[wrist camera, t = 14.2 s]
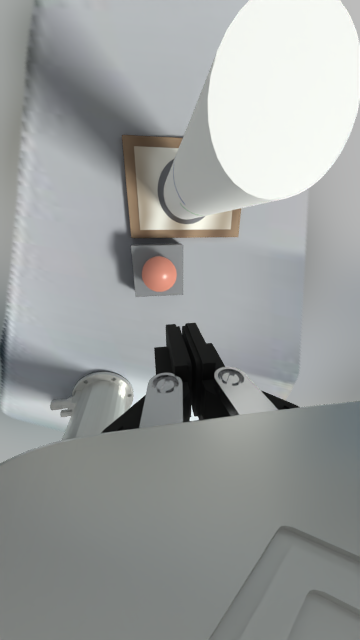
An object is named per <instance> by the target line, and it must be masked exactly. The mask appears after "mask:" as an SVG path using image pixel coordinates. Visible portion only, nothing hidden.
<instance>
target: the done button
mask: <svg viewBox="0 0 360 640" xmlns="http://www.w3.org/2000/svg"><path fill="white" fill-rule="evenodd" d="M176 277H177V272H176V268H175V266H174V265H173V263H172V262H171V261H170V260H169V259H167V258H165V257H162V256H155V257H152V258H150V259H149V260H147V261H146V263H145V264H144V266H143V269H142V279H143V281H144V283H145V285H146V286H147V287H148V288H149V289H151V290H153V291H156V292H163V291H166V290H168V289H170V288H171V287H172V286H173V285H174V283H175V281H176Z"/></svg>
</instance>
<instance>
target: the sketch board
mask: <svg viewBox="0 0 360 640" xmlns="http://www.w3.org/2000/svg"><path fill="white" fill-rule="evenodd" d="M182 139H183V138H172V137H153V136H135V135H122V142H123V153H124V164H125V175H126V186H127V196H128V207H129V218H130V229H131V238H187V237H238V234H239V224H240V214H241V208H240V209H235V210H231V211H226V212H221V213H217V214H212V215H208V216H203V217H198V218H194V219H187V220H186V219H181V218H178V217H176V216H175V215H173V214H172V213H171V212H170V210H169V209H168V208H167V206H166V203H165V200H164V185H165V181H166V179H167V176H168V174H169V172H170V169H171V167H172V164H173V161H174V159H175V156H176V154H177V151H178V149H179V146H180V144H181V141H182Z"/></svg>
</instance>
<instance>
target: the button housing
mask: <svg viewBox="0 0 360 640" xmlns="http://www.w3.org/2000/svg"><path fill="white" fill-rule="evenodd" d="M131 253H132V264H133V274H134V285H135V296H136V297H145V296H166V295H183V245H182V244H132V245H131ZM155 256H162V257H165V258H167V259H169V260H170V261H171V262H172V263H173V265H174V266H175V268H176V272H177V277H176V281H175V283H174V285H173V286H172V287H171V288H170V289H168V290H166V291H163V292H156V291H153V290H151V289H149V288H148V287H147V286H146V285H145V283H144V281H143V279H142V269H143V266H144V264H145V263H146V261H147V260H149V259H150V258H152V257H155Z"/></svg>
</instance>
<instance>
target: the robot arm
mask: <svg viewBox="0 0 360 640" xmlns="http://www.w3.org/2000/svg"><path fill="white" fill-rule="evenodd" d="M166 346H167V347H157V348H154V349H155V365H156V375H155V376H153V377H152V378H151V379H150V381H149V383H148V387H147V392H146V395H145V396H144V397H143V398H142V399H140V400H139V401H138V402H137V403H136V404H134V405H133V406H132V407H131V408H130V406H131V404H132V402H133V389H132V386H131V385H130V383H129V382H128V381H127V380H126V379H125V378H123V377H122V376H120V375H118V374H115V373H111V372H96V373H92V374H89V375H87V376H85V377H83V378H82V379H81V380H79V381H78V383H77V384H76V385H75V387H74V390H73V393H72V397H69V398H68V399H58V400H52V402H51V405H50V408H51V410H59V409H63V408H68V409H67V410H62V411H61V417H67V416H71V418H70V420H69V423H68V425H67V428H66V430H65V433H64V436H63V438H62V440H61V441H58V442H53V443H49V444H46V445H43V446H40V447H38V448H34V449H31V450H28V451H26V452H24V453H22V454H19V455H17V456H15V457H12V458H11V459H8V460H6V461H4V462H2V463H0V640H360V401H354V402H343V403H333V404H326V405H325V404H324V405H317V406H309V407H298V406H296V405H294V404H292V403H290V402H287V401H285V400H283V399H280V398H278V397H275V396H273V395H271V394H268V393H266V392H263V391H261V390H260V389H259V388H258V387H257V386H256V385H255V384H254V383H253V382H252V381H251V379H250V378H249V377H248V376H247V375H246V374H245V373H244V372H243V371H241V370H239V369H237V368H233V367H225V366H224V364H223V362H222V360H221V358H220V357H219V355H218V353H217V351H216V350H215V348H214V346H213V344H212V343H207V344H206V343H205V341H204V339H203V337H202V335H201V333H200V331H199V329H198V327H197V325H196V323H186V325H185V326H182V333H181V330H180V327H179V326H178V327H176V325H175V324H171V325H166ZM191 405H192V409H193V413H194V416H198V417H199V420H197V421H189V419H190V417H191Z"/></svg>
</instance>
